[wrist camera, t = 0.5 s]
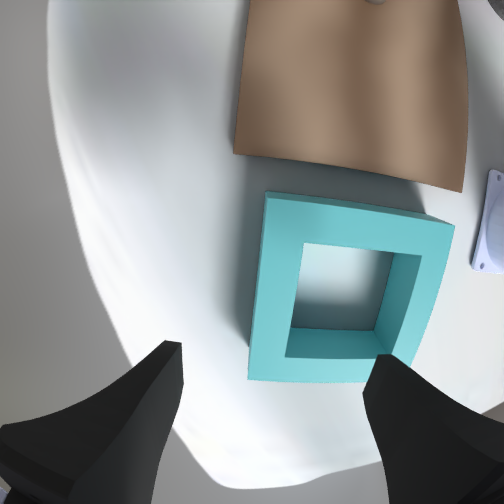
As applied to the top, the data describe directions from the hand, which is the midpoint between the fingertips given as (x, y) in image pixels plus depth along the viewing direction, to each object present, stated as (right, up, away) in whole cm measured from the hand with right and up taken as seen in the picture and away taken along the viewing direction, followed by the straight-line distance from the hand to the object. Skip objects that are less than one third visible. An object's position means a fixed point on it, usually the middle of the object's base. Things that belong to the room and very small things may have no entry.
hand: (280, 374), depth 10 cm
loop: (+5, +2, +9) cm, 10 cm away
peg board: (+6, +18, +4) cm, 20 cm away
